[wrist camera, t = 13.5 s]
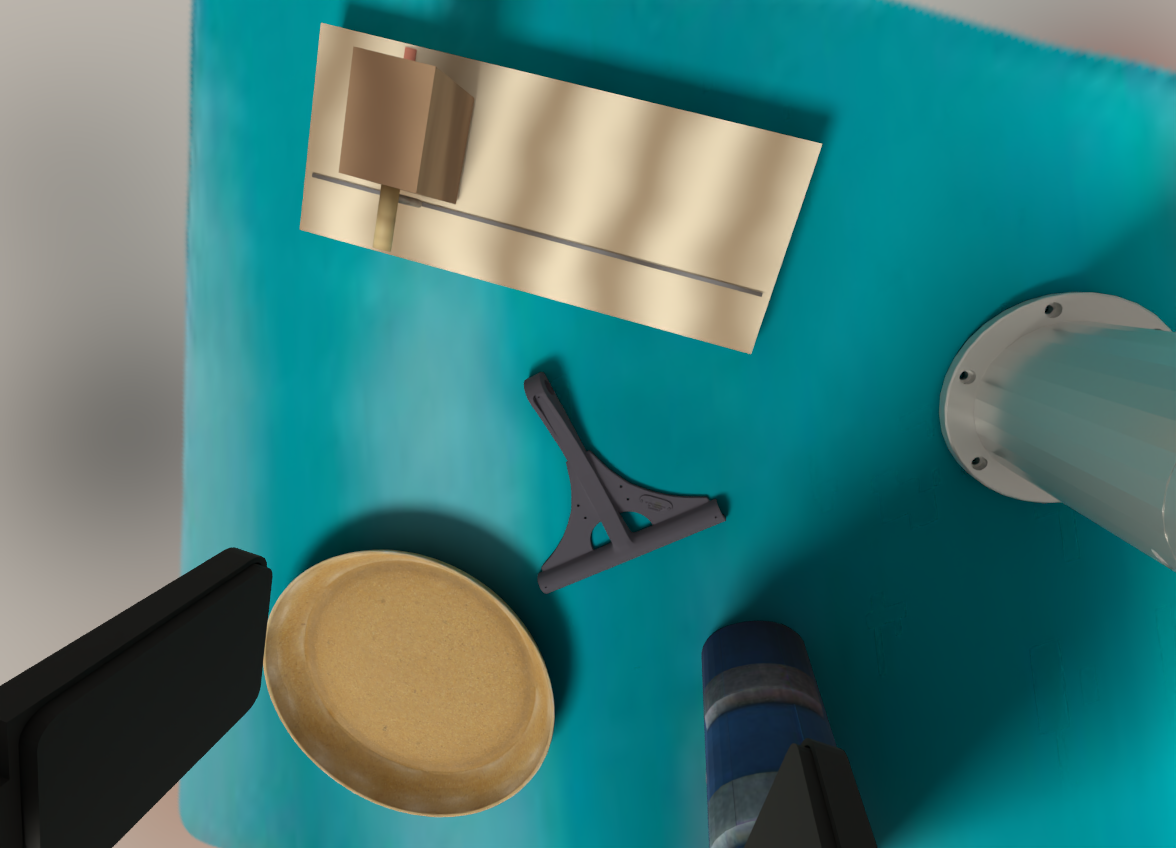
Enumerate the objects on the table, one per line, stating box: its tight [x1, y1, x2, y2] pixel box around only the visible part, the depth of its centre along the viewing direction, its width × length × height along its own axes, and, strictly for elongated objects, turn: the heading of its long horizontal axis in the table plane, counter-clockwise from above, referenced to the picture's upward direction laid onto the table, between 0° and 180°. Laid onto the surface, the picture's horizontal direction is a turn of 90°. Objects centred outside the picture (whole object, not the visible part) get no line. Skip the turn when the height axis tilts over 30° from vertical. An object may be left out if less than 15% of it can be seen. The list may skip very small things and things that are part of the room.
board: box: [300, 23, 822, 354], centre depth 36 cm, size 30×12×2 cm, turn 76°
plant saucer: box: [263, 550, 555, 817], centre depth 47 cm, size 24×24×3 cm
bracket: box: [524, 372, 726, 594], centre depth 40 cm, size 14×15×3 cm
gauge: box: [339, 46, 474, 252], centre depth 33 cm, size 4×9×6 cm, turn 166°
